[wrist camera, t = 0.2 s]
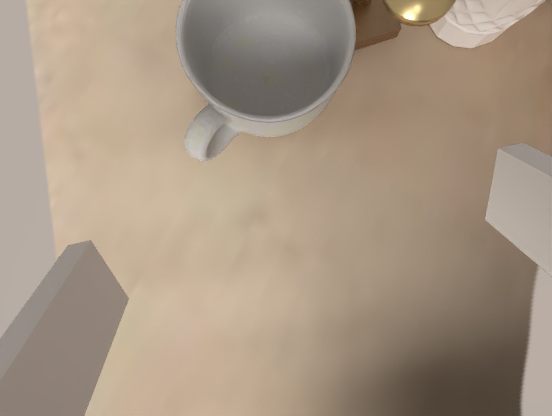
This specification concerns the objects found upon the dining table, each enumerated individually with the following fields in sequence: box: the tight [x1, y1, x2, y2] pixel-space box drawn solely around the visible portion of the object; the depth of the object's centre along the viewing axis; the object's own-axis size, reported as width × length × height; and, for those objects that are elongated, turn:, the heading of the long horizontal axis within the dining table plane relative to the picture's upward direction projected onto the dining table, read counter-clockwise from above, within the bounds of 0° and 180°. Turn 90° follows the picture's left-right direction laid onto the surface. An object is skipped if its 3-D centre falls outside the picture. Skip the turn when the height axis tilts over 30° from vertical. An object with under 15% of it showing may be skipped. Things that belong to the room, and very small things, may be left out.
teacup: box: [176, 0, 356, 162], centre depth 23 cm, size 14×11×8 cm
